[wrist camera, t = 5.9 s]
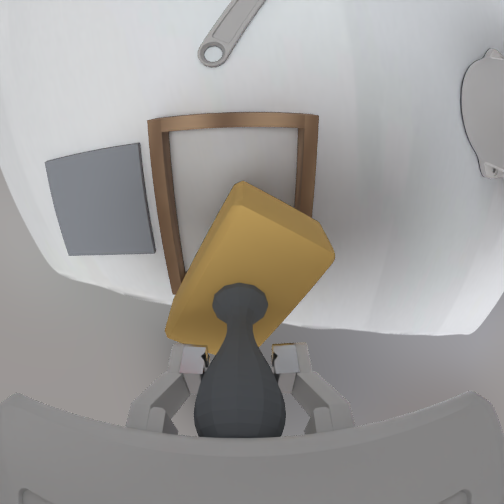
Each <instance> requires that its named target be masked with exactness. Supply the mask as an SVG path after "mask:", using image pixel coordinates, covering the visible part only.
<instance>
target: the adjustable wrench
mask: <svg viewBox="0 0 504 504" xmlns="http://www.w3.org/2000/svg"><path fill="white" fill-rule="evenodd" d="M265 1H266V0H232V1H231V2H230V4H229V5H228V6H227V8H226V9H225V10H224V12H223V13H222V15H221V16H220V17H219V19H218V20H217V22H216V23H215V24H214V26H213V27H212V29H211V30H210V32H209V33H208V35H207V36H206V38H205V39H204V41H203V42H202V44H201V45H200V47H199V49H198V58H199V60H200V61H201V62H202V63H203V64H204V65H206V66H209V67H217V66H220V65H221V64H223V63H224V62H225V61H226V60H227V58H228V56H229V55H230V53H231V51H232V50H233V48H234V46H235V45H236V43H237V42H238V40H239V39H240V37H241V35H242V34H243V32H244V31H245V29H246V28H247V26H248V25H249V23H250V22H251V20H252V19H253V17H254V16H255V15H256V13H257V12H258V10H259V9H260V7H261V6H262V5H263V3H264V2H265ZM210 46H218V47H219V48H221V50H222V52H223V55H222V57H221V58H220V60H218V61H216V62H209V61H207V60H206V59H205V57H204V52H205V50H206V49H207V48H208V47H210Z"/></svg>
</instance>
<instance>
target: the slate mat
mask: <svg viewBox="0 0 504 504" xmlns="http://www.w3.org/2000/svg"><path fill="white" fill-rule="evenodd" d="M45 166H46V171H47V177H48V181H49V186H50V191H51V195H52V199H53V204H54V208H55V211H56V215H57V219H58V222H59V226H60V229H61V233H62V236H63V239H64V242H65V245H66V249H67V252H68V254H69V256H79V255H118V254H154V253H155V251H156V250H155V244H154V239H153V234H152V228H151V223H150V217H149V211H148V204H147V198H146V191H145V184H144V176H143V168H142V160H141V150H140V143H135V144H128V145H122V146H115V147H110V148H104V149H99V150H93V151H88V152H84V153H79V154H74V155H70V156H66V157H61V158H57V159H53V160H50V161H47V162H45Z"/></svg>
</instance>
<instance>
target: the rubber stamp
mask: <svg viewBox="0 0 504 504" xmlns="http://www.w3.org/2000/svg"><path fill="white" fill-rule="evenodd" d="M334 260H335V253H334V250H333V248H332V246H331V244H330V242H329V240H328V238H327V236H326V234H325V232H324V230H323V229H322V227H321V225H320V223H319V222H318V221H316V220H314V219H313V218H311V217H309V216H307V215H306V214H304V213H302V212H300V211H298V210H297V209H295V208H293V207H291V206H290V205H288V204H286V203H284V202H282V201H280V200H279V199H277V198H275V197H273V196H271V195H269V194H268V193H266V192H264V191H262V190H260V189H258V188H256V187H254V186H252V185H250V184H249V183H247V182H245V181H241V182H239V183H237V184H235V185H234V186H233V188H232V190H231V191H230V193H229V195H228V197H227V199H226V200H225V202H224V204H223V206H222V208H221V209H220V211H219V213H218V215H217V217H216V218H215V220H214V222H213V224H212V226H211V228H210V229H209V231H208V233H207V235H206V237H205V239H204V241H203V243H202V244H201V246H200V248H199V250H198V252H197V254H196V256H195V258H194V260H193V262H192V264H191V266H190V268H189V269H188V271H187V273H186V275H185V277H184V279H183V281H182V283H181V285H180V287H179V289H178V291H177V293H176V295H175V297H174V299H173V303H172V306H171V310H170V313H169V317H168V321H167V324H166V328H165V332H166V335H167V337H168V338H170V339H172V340H175V341H177V342H180V343H183V344H196V345H207V346H208V353H211V354H214V355H215V357H214V359H213V360H212V362H211V363H210V365H209V367H208V368H207V370H206V372H205V374H204V376H203V378H202V381H201V383H200V386H199V389H198V393H197V398H196V402H195V408H194V421H195V427H196V430H197V433H198V436H199V437H214V438H267V437H280V436H281V435H282V432H283V429H284V425H285V418H286V411H285V403H284V399H283V396H282V393H281V390H280V388H279V385H278V383H277V381H276V378H275V376H274V374H273V372H272V370H271V368H270V366H269V364H268V363H267V361H266V359H265V358H264V356H263V354H262V353H261V351H260V349H259V346H261V345H262V343H263V342H264V341H265V340H266V339H267V338H268V337H269V336H270V335H271V334H272V333H273V331H275V329H276V328H277V327H278V326H279V325H280V324H281V323H282V322H283V321H284V319H285V318H286V317H287V316H288V315H289V314H290V313H291V312H292V310H293V309H294V308H295V307H296V306H297V305H298V304H299V302H300V301H301V300H302V299H303V298H304V297H305V295H306V294H307V293H308V292H309V291H310V290H311V288H312V287H313V286H314V285H315V284H316V282H317V281H318V280H319V279H320V278H321V276H322V275H323V274H324V273H325V272H326V270H327V269H328V268H329V267H330V265H331V264H332V263H333V261H334Z"/></svg>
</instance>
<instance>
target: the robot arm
mask: <svg viewBox="0 0 504 504" xmlns="http://www.w3.org/2000/svg"><path fill="white" fill-rule="evenodd" d="M462 114H463V120H464V125H465V129H466V133H467V135H468V138H469V141H470V143H471V145H472V147H473V149H474V150H475V152H476V154H477V156H478V158H479V164H480V169H481V173H482V175H483V176H484V177H486V178H501V177H504V57H503V56H502V55H501V54H500V53H499V52H498V51H497V50H495V49H489V50H488V51H487V52H486V54H485V56H484V58H483V59H480V60H478V61H476V62H474V63H473V64H472V65H471V66H470V67H469V69H468V70H467V72H466V75H465V78H464V81H463V87H462ZM209 365H210V356H209V355H208V346H207V345H196V344H178V343H174V345H173V347H172V350H171V355H170V360H169V365H168V369H167V372H164V373H163V374H161V375H160V376H159V377H158V378H157V379H156V380H155V381H154V382H153V383H152V384H151V385H150V386H149V387H148V388H147V389H145V391H143V392H142V393H141V394H140V395H139V396H138V397H137V398H136V399H135V400H134V401H133V402H132V403H131V406H130V410H129V414H128V418H127V422H126V427H124V426H119V425H115V424H110V423H106V422H102V421H98V420H94V419H90V418H87V417H83V416H80V415H77V414H74V413H70V412H67V411H64V410H61V409H58V408H55V407H53V406H50V405H47V404H44V403H42V402H39V401H37V400H34V399H32V398H29V397H27V396H25V395H23V394H20V393H16V394H13V395H11V396H10V397H8V398H7V399H5V400H4V401H2V402H1V403H0V504H504V435H503V431H502V428H501V425H500V422H499V419H498V416H497V414H496V411H495V409H494V407H493V405H492V404H491V402H489V401H488V400H487V399H485V398H484V397H482V396H481V395H479V394H477V393H476V392H474V391H468V392H465V393H463V394H460V395H458V396H456V397H454V398H451V399H448V400H446V401H443V402H441V403H438V404H435V405H433V406H430V407H427V408H424V409H421V410H418V411H415V412H412V413H408V414H405V415H402V416H398V417H395V418H391V419H387V420H383V421H379V422H375V423H371V424H366V425H362V426H357V427H355V423H354V419H353V415H352V411H351V407H350V403H349V402H348V401H347V400H346V399H345V398H344V397H343V396H342V395H341V394H340V393H338V392H337V391H336V390H335V389H334V388H333V387H332V386H331V385H330V384H329V383H328V382H327V381H326V380H324V379H323V378H322V377H321V376H320V375H319V374H318V373H317V372H313V371H312V366H311V361H310V356H309V351H308V347H307V344H306V343H305V342H303V343H284V344H273V345H272V355H271V370H272V372H273V374H274V376H275V378H276V381H277V383H278V385H279V388H280V390H281V393H282V394H292V395H293V397H294V398H295V399H296V400H297V402H298V403H299V404H300V405H301V407H302V408H303V409H304V410H305V411H306V413H307V414H308V415H309V416H310V420H309V422H308V424H307V426H306V428H305V430H304V432H305V435H296V436H284V437H267V438H214V437H197V436H185V435H178V430H177V428H176V427H175V426H174V424H173V422H172V421H171V418H172V417H173V416H174V415H175V413H176V412H177V411H178V410H179V409H180V407H181V406H182V405H183V403H184V402H185V401H186V400H187V398H188V397H189V396H190V394H197V393H198V389H199V386H200V383H201V381H202V378H203V376H204V374H205V372H206V370H207V368H208V367H209Z"/></svg>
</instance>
